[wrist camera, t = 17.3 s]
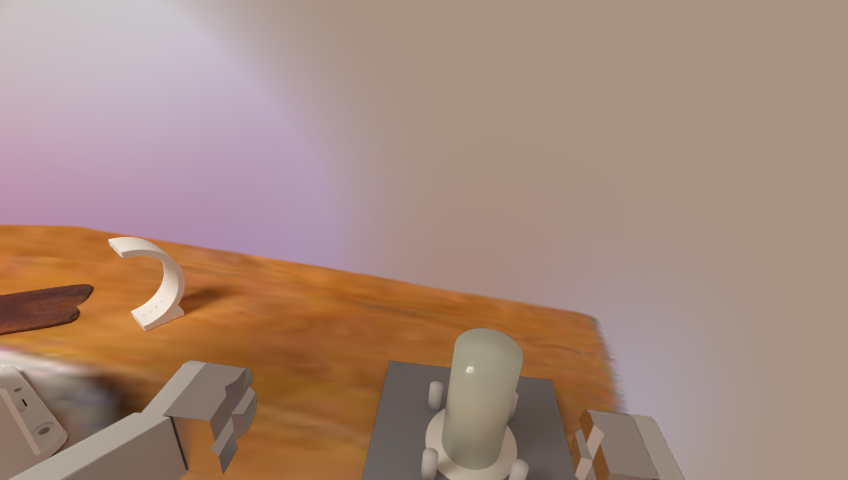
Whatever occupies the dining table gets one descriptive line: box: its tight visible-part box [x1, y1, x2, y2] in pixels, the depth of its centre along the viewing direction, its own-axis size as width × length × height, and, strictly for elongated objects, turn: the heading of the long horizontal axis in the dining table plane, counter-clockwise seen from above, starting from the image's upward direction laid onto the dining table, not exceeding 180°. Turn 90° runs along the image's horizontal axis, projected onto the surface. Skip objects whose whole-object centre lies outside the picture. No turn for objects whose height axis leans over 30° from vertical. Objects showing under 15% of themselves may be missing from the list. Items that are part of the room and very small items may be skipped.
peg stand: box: [362, 361, 577, 480], centre depth 41 cm, size 20×20×4 cm
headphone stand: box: [108, 237, 185, 331], centre depth 55 cm, size 5×6×12 cm
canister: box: [441, 328, 523, 470], centre depth 39 cm, size 6×6×12 cm
